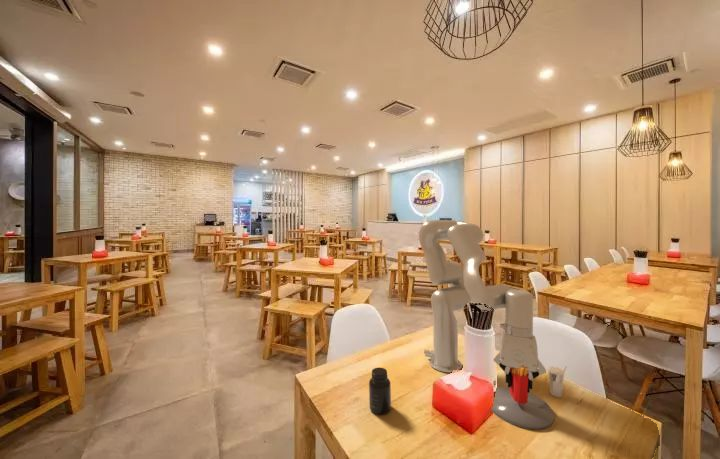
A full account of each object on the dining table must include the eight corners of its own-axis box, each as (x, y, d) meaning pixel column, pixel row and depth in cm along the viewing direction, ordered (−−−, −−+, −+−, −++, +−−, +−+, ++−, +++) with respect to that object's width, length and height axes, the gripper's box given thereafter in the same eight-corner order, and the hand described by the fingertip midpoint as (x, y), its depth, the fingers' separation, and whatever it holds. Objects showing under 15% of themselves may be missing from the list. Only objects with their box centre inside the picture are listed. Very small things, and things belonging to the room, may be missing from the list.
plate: (483, 414, 85) (483, 409, 85) (491, 385, 100) (491, 381, 100) (555, 438, 75) (555, 433, 75) (552, 402, 90) (552, 398, 90)
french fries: (507, 389, 92) (508, 353, 92) (520, 390, 91) (521, 354, 91) (517, 405, 84) (517, 366, 83) (531, 407, 83) (532, 367, 83)
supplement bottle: (379, 398, 93) (378, 363, 93) (395, 408, 88) (395, 370, 88) (364, 408, 88) (364, 371, 88) (381, 419, 83) (380, 379, 83)
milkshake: (570, 399, 92) (570, 369, 91) (551, 397, 93) (552, 368, 92) (562, 391, 96) (563, 362, 96) (545, 389, 97) (545, 361, 97)
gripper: (487, 328, 88) (487, 385, 89) (552, 340, 79) (551, 403, 80) (490, 321, 95) (490, 374, 95) (551, 331, 86) (550, 390, 86)
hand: (518, 387), depth 87 cm, fingers closed on french fries, 4 cm apart
